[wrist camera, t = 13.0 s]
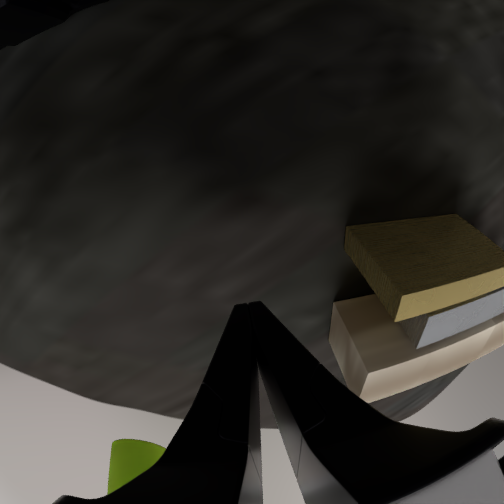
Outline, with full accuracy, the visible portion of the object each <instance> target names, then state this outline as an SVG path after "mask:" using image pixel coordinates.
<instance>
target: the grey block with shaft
mask: <svg viewBox="0 0 504 504" xmlns="http://www.w3.org/2000/svg"><path fill="white" fill-rule="evenodd" d="M503 312H504V286H503V287H501V288H498V289H496V290H493V291H491V292H488V293H485V294H482V295H480V296H477V297H474V298H471V299H469V300H466V301H463V302H460V303H457V304H454V305H451V306H448V307H445V308H442V309H438V310H435V311H432V312H429V313H425V314H422V315H419V316H415V317H412V318H408V319H405V320H401V321H398V322H399V323H400V325H401V326H402V328H403V329H404V331H405V332H406V334H407V335H408V337H409V338H410V340H411V342H412V343H413V345H414V346H415V348H416V349H418V348H421V347H424V346H426V345H429V344H432V343H434V342H437V341H440V340H442V339H445V338H447V337H450V336H452V335H455V334H457V333H459V332H462V331H464V330H467V329H469V328H471V327H473V326H476V325H478V324H480V323H482V322H484V321H487V320H489V319H491V318H493V317H495V316H497V315H499V314H501V313H503Z"/></svg>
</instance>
